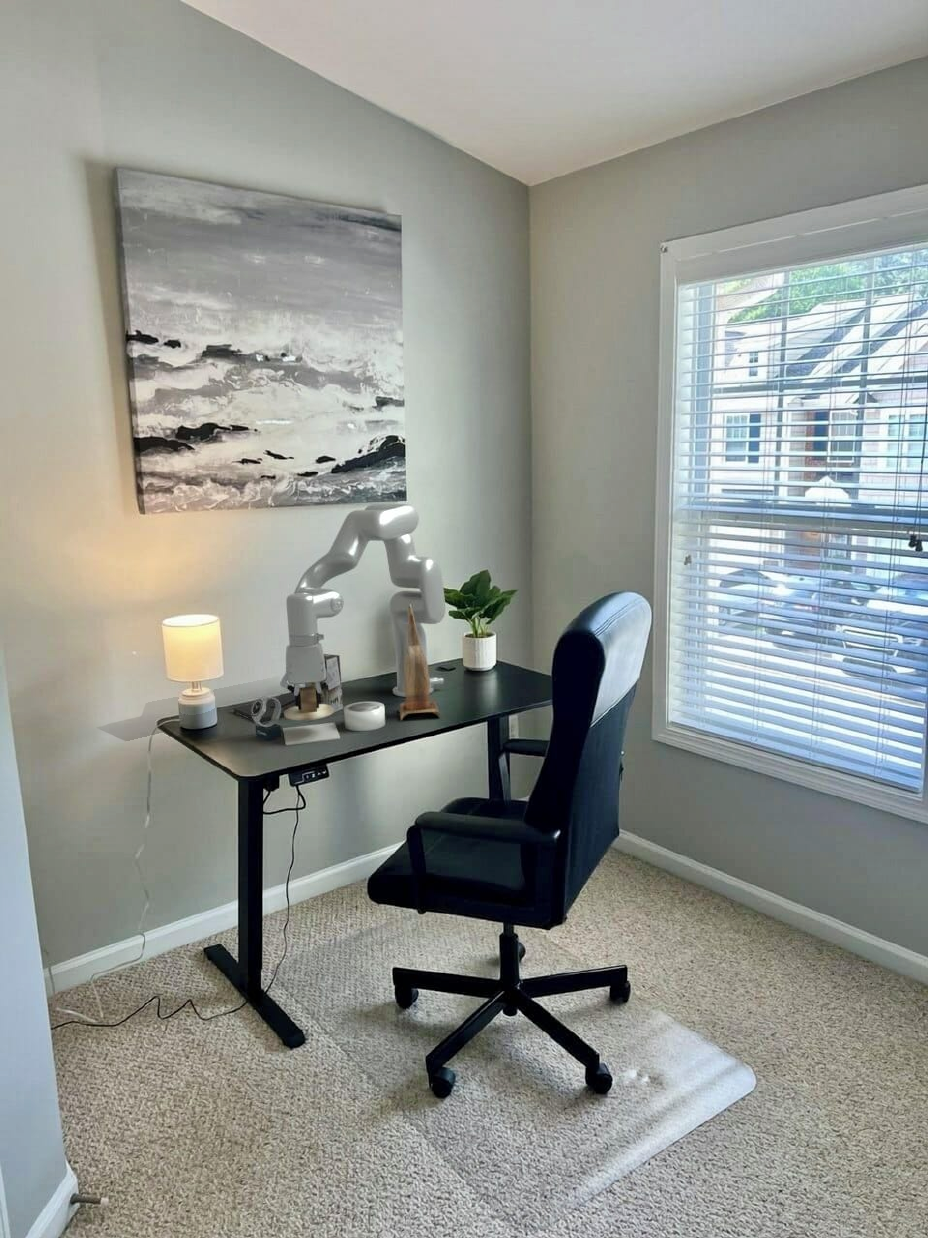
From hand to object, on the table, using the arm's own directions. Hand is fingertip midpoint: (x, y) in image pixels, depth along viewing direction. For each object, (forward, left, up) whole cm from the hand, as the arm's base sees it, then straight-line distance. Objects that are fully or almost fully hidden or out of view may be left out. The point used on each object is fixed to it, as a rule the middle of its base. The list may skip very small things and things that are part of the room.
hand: (308, 707), depth 237 cm
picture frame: (+7, -28, -8) cm, 30 cm away
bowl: (-15, -3, -8) cm, 17 cm away
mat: (0, 0, -8) cm, 8 cm away
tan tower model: (-31, -7, -8) cm, 33 cm away
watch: (+11, -2, -8) cm, 14 cm away
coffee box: (-6, -22, -8) cm, 24 cm away
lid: (0, 0, -2) cm, 2 cm away
